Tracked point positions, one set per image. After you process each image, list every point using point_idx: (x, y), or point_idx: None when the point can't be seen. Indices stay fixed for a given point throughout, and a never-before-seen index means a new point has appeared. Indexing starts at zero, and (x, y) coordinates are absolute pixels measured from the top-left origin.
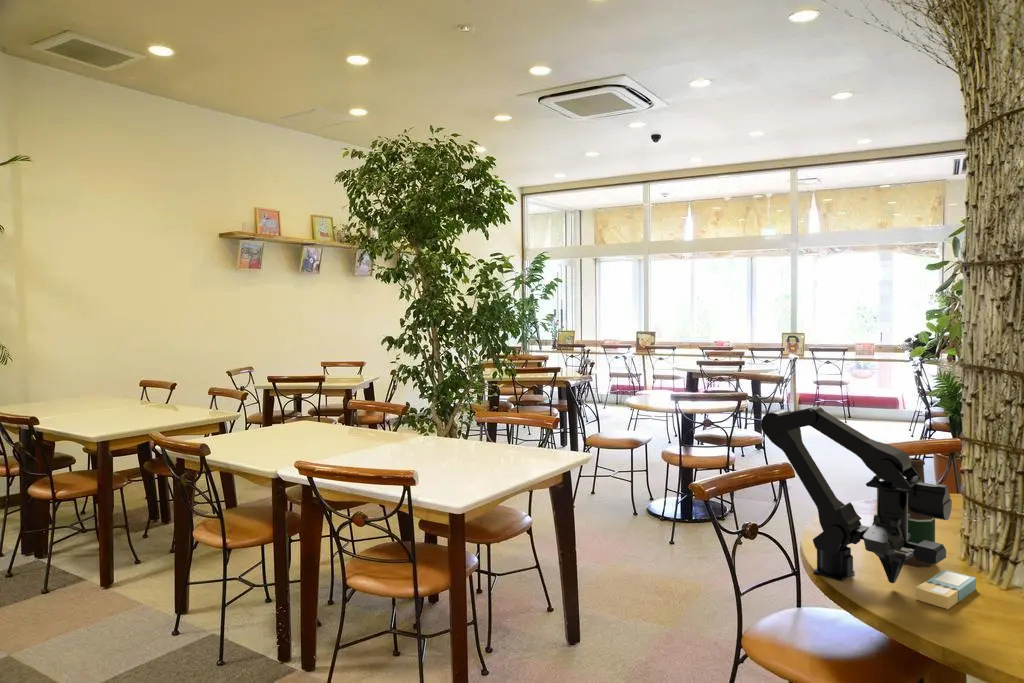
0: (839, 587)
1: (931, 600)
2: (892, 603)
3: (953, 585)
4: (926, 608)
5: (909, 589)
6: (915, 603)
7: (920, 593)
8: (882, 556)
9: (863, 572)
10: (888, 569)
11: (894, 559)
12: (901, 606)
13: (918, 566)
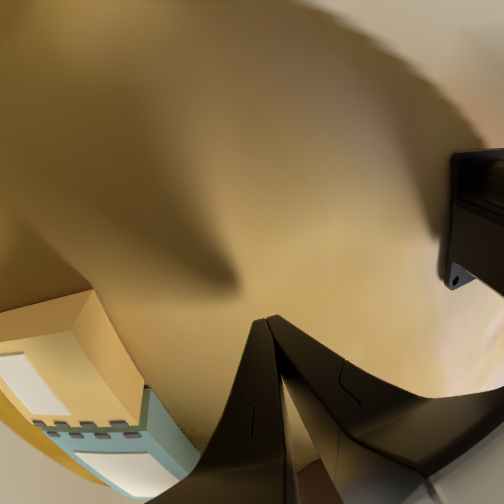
0: (417, 78)
1: (27, 313)
2: (112, 128)
3: (84, 450)
4: (15, 249)
5: (208, 362)
6: (65, 252)
7: (58, 318)
8: (396, 433)
9: (422, 323)
10: (299, 368)
11: (231, 487)
12: (64, 145)
13: (311, 465)
